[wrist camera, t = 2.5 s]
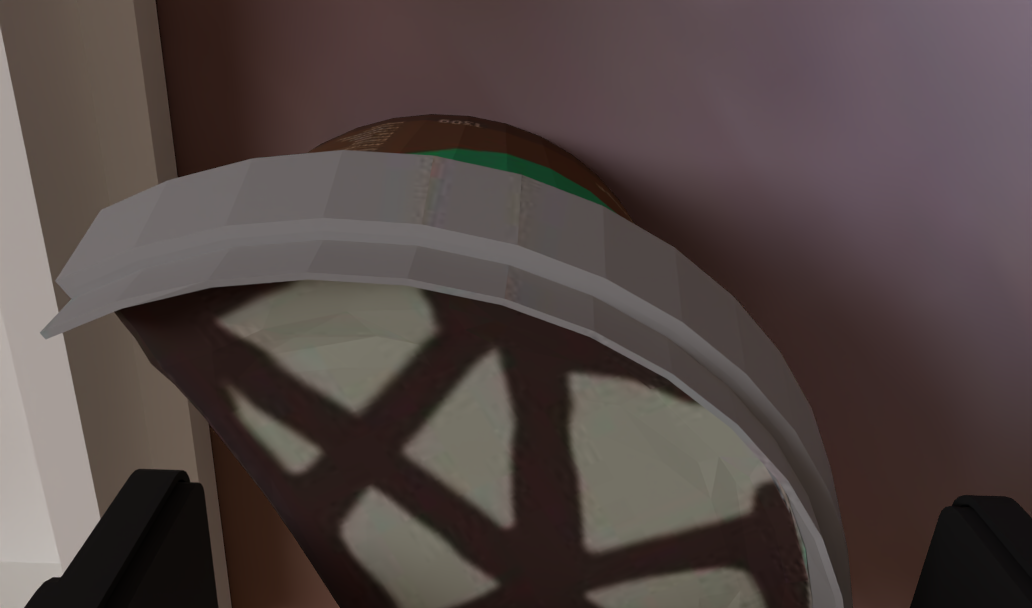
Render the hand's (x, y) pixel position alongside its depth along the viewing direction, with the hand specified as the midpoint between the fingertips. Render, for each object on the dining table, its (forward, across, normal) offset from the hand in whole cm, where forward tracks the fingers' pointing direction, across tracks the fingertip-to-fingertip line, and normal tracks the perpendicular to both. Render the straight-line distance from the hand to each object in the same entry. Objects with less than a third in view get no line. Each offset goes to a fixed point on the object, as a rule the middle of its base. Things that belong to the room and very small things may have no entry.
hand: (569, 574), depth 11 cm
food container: (+9, 0, -1) cm, 9 cm away
